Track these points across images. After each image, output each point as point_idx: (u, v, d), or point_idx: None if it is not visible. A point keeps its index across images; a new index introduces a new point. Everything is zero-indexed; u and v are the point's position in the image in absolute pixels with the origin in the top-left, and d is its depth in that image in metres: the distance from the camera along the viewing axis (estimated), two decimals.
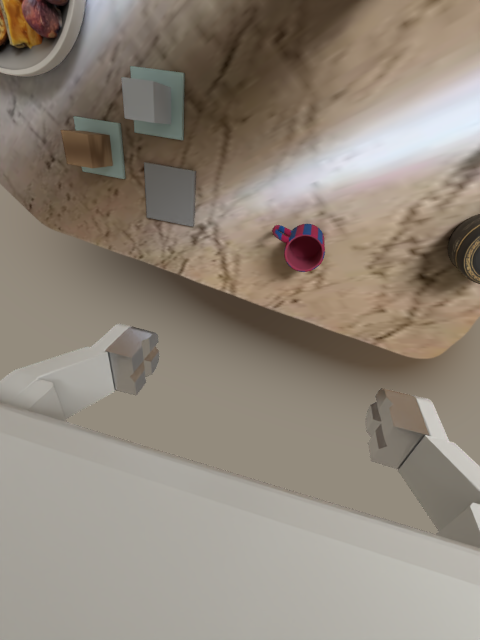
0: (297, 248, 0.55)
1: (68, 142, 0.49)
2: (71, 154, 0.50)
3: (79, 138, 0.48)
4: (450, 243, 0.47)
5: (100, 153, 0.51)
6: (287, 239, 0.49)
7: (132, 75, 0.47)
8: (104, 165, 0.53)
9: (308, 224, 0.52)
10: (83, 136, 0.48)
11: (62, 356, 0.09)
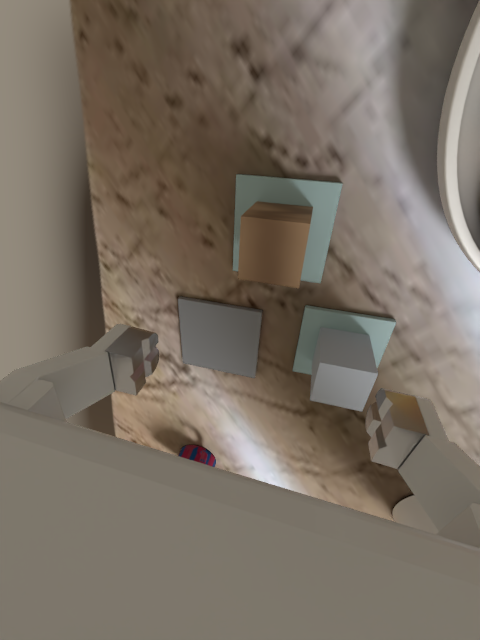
0: None
1: (283, 234, 0.21)
2: (260, 235, 0.21)
3: (292, 266, 0.22)
4: None
5: None
6: None
7: (383, 322, 0.29)
8: None
9: (215, 463, 0.50)
10: (295, 278, 0.22)
11: (62, 356, 0.09)
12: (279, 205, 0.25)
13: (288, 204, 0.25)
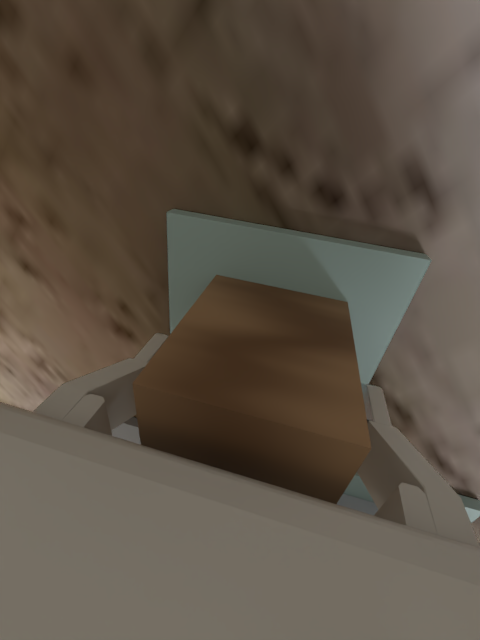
0: None
1: (273, 451, 0.06)
2: (200, 438, 0.07)
3: None
4: None
5: None
6: None
7: None
8: None
9: None
10: None
11: (107, 368, 0.08)
12: (267, 296, 0.10)
13: None
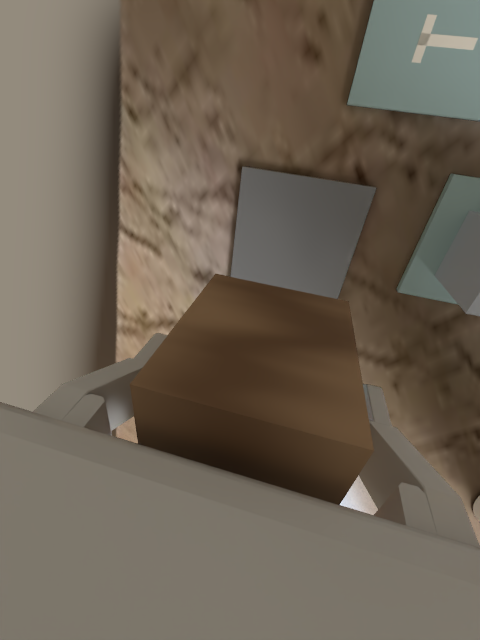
0: None
1: (274, 453, 0.06)
2: (199, 439, 0.07)
3: None
4: None
5: None
6: None
7: None
8: None
9: None
10: None
11: (107, 368, 0.08)
12: (267, 295, 0.10)
13: (289, 289, 0.11)
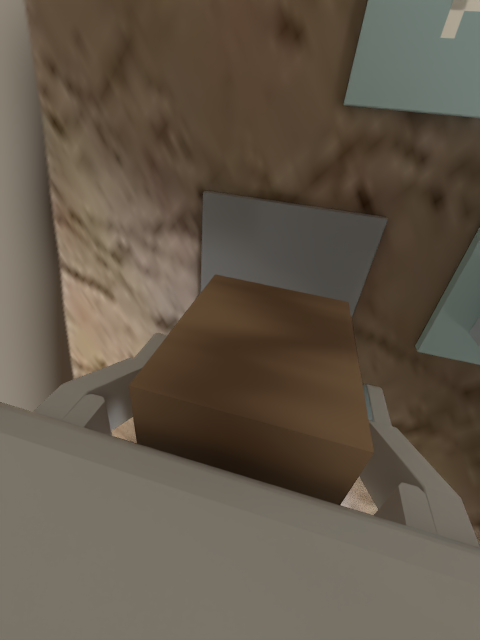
0: None
1: (273, 455, 0.06)
2: (198, 441, 0.06)
3: None
4: None
5: None
6: None
7: None
8: None
9: None
10: None
11: (107, 368, 0.08)
12: (267, 296, 0.10)
13: None
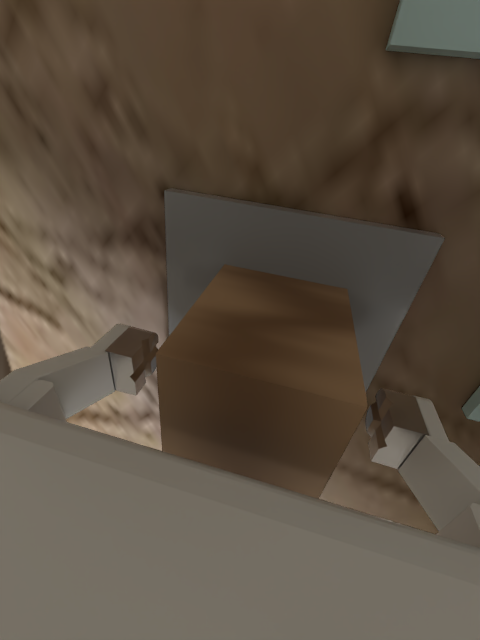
0: None
1: (281, 414, 0.07)
2: (215, 404, 0.07)
3: (299, 475, 0.08)
4: None
5: None
6: None
7: None
8: None
9: None
10: None
11: (61, 356, 0.09)
12: (273, 283, 0.11)
13: (292, 278, 0.11)
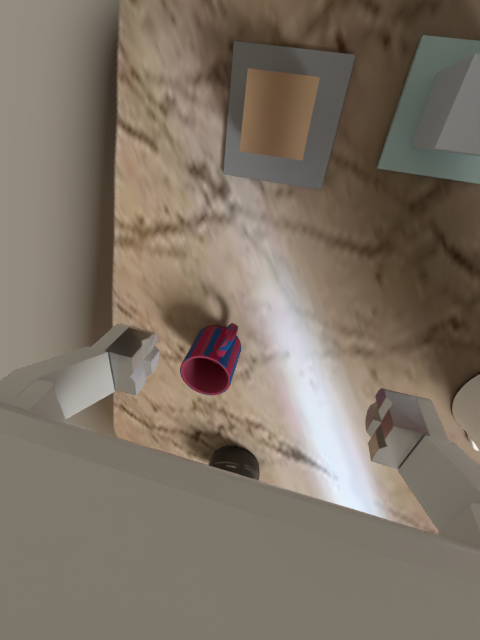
0: None
1: (291, 91, 0.20)
2: (267, 93, 0.20)
3: (297, 132, 0.21)
4: (232, 454, 0.52)
5: None
6: (220, 355, 0.35)
7: None
8: None
9: (240, 350, 0.41)
10: (299, 148, 0.22)
11: (61, 356, 0.09)
12: None
13: None
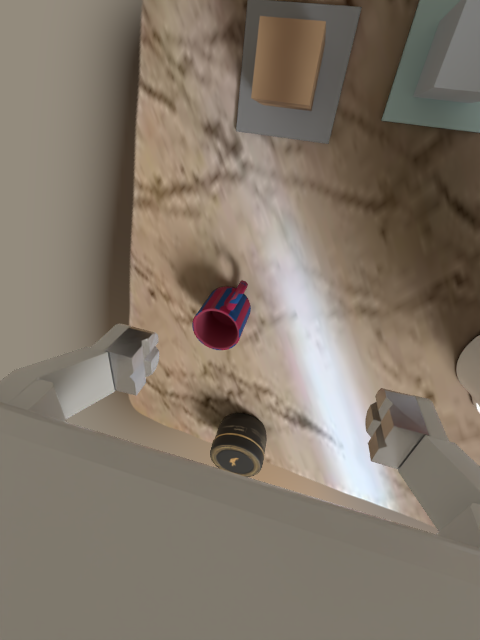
0: None
1: (299, 36, 0.22)
2: (277, 39, 0.22)
3: (305, 77, 0.23)
4: (240, 419, 0.54)
5: (279, 104, 0.27)
6: (230, 309, 0.37)
7: None
8: (260, 102, 0.27)
9: (249, 310, 0.43)
10: (307, 93, 0.24)
11: (62, 356, 0.09)
12: None
13: None
